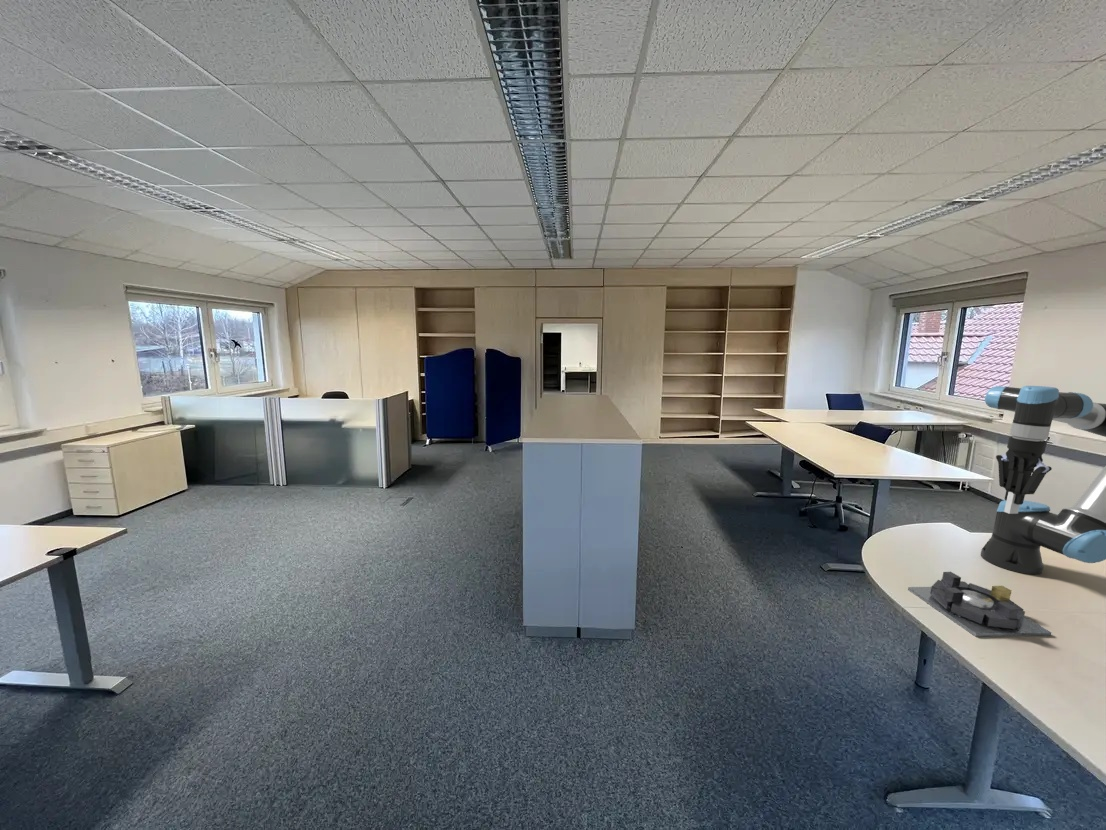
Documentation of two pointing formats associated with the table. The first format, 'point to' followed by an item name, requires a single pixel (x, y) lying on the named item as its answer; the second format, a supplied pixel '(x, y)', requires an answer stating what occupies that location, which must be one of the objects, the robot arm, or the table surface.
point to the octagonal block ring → (952, 597)
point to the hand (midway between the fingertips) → (1010, 512)
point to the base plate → (974, 627)
